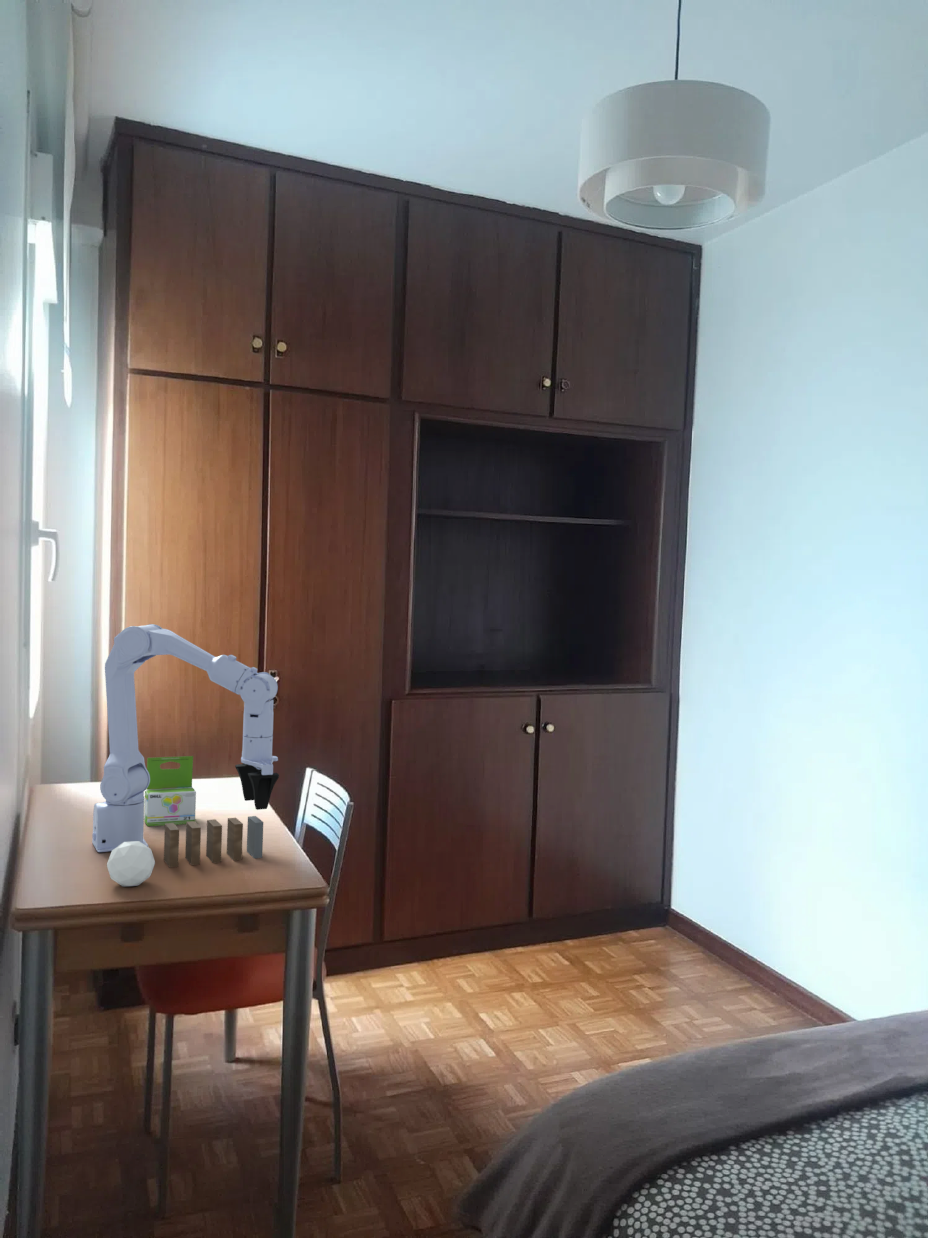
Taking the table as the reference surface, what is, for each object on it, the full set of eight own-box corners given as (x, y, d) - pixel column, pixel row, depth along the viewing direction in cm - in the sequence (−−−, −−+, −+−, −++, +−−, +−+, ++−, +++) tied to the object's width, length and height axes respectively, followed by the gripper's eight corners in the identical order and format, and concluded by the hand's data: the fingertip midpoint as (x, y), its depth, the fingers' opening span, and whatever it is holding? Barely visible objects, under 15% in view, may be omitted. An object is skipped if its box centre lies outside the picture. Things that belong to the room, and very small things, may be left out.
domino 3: (212, 863, 182) (213, 826, 182) (206, 855, 186) (207, 820, 186) (221, 862, 183) (222, 825, 183) (214, 855, 187) (215, 819, 187)
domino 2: (191, 865, 180) (192, 828, 180) (185, 858, 185) (186, 822, 184) (199, 864, 181) (200, 827, 181) (193, 857, 185) (194, 821, 185)
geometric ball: (142, 899, 168) (169, 866, 167) (103, 893, 163) (130, 858, 162) (131, 868, 174) (157, 836, 172) (92, 860, 168) (119, 827, 167)
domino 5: (254, 850, 191) (255, 816, 191) (262, 857, 187) (263, 822, 186) (246, 851, 190) (247, 816, 190) (254, 858, 186) (255, 822, 186)
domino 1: (169, 867, 178) (170, 830, 178) (163, 860, 183) (164, 823, 182) (178, 866, 179) (179, 829, 179) (172, 859, 183) (173, 823, 183)
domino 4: (233, 860, 184) (234, 824, 184) (226, 853, 188) (227, 818, 188) (241, 859, 185) (242, 823, 185) (234, 852, 189) (235, 817, 189)
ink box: (146, 827, 205) (147, 762, 205) (143, 820, 210) (145, 757, 210) (195, 823, 210) (197, 760, 209) (192, 817, 215) (193, 755, 214)
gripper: (289, 740, 183) (287, 811, 184) (266, 728, 196) (264, 794, 196) (253, 742, 180) (250, 814, 180) (232, 730, 192) (230, 797, 193)
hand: (255, 804), depth 188 cm, fingers open, 7 cm apart
